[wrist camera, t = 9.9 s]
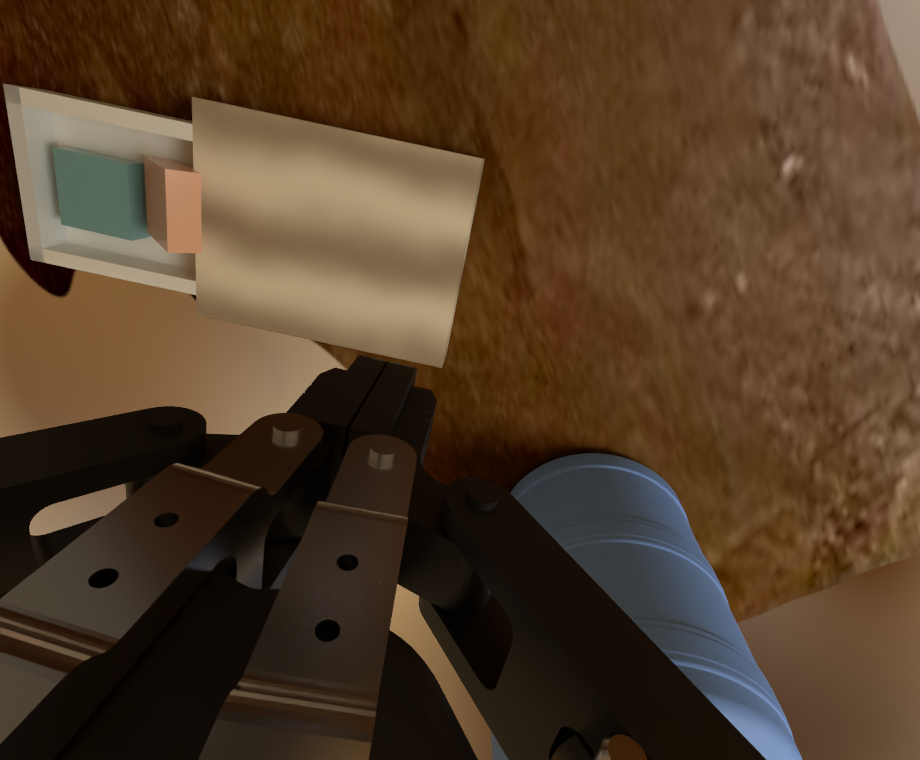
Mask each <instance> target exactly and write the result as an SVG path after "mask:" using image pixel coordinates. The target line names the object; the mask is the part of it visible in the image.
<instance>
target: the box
mask: <svg viewBox="0 0 920 760" xmlns="http://www.w3.org/2000/svg"><path fill="white" fill-rule="evenodd" d="M3 87H4V94H5V100H6V106H7V113H8V119H9V125H10V132H11V138H12V145H13V151H14V157H15V164H16V170H17V176H18V183H19V189H20V196H21V202H22V208H23V215H24V221H25V227H26V234H27V240H28V247H29V253H30V259H31V260H35V261H39V262H44V263H49V264H53V265H58V266H63V267H67V268H72V269H77V270H82V271H86V272H91V273H95V274H100V275H105V276H109V277H114V278H119V279H123V280H128V281H133V282H137V283H142V284H147V285H151V286H156V287H161V288H165V289H170V290H175V291H179V292H184V293H189V294H193V295H196V260H195V253H168V252H167V251H166V250H165V249H164V248H163V247H162V246H161V245H160V244H158V243H157V242H156V241H155V240H154V239H153V238H152V237H147V238H143V239H138V240H134V241H130V240H126V239H122V238H117V237H113V236H109V235H104V234H100V233H95V232H91V231H87V230H82V229H78V228H74V227H69V226H65V225H61V218H60V209H59V200H58V192H57V183H56V174H55V166H54V157H53V148H52V147H77V148H82V149H86V150H90V151H95V152H99V153H103V154H108V155H112V156H117V157H121V158H125V159H130V160H134V161H138V162H143V163H144V156H150V157H157V158H165V159H172V160H178V161H180V162H181V163H183V164H185V165H187V166H189V167H190V168H192V169H193V129H192V121H189V120H184V119H180V118H175V117H170V116H165V115H161V114H156V113H151V112H147V111H142V110H137V109H133V108H128V107H123V106H119V105H114V104H109V103H105V102H100V101H95V100H90V99H86V98H81V97H76V96H72V95H67V94H62V93H58V92H53V91H48V90H44V89H37V88H30V87H23V86H16V85H9V84H3Z"/></svg>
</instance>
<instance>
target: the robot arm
mask: <svg viewBox="0 0 920 760" xmlns="http://www.w3.org/2000/svg"><path fill="white" fill-rule="evenodd" d="M416 372H417V368H415V367H411V366H406V365H402V364H398V363H394V362H388V361H385V360H381V359H376V358H372V357H368V356H364V355H359V356H358V357H357V358H356V360H355V361H354V362H353V364H352V365H351V366H350V367H349V369H348V370H342V369H338V368H333V369H331V370H328V371H326V372H323V373H321V374H319V376H318V377H317V378H316V379H315V380H314V381H313V383H312V385H310V386H309V387H308V388H307V390H306V391H305V393H303V394H302V395H301V396H300V398H299V399H298V400H297V401H296V402H295V403H294V405H293V406H292V407H291V408H290V409H289V410H288V411H287V412H286V413H279V414H272V415H267V416H265V417H262V418H260V419H258V420H257V421H255V422H254V423H253V424H252V425H251V426H250V427H248V428H247V429H246V430H245V431H244V432H243V433H242V434H240V435H224V434H206V420H205V418H204V417H203V416H202V415H201V414H199V413H198V412H195V411H193V410H190V409H187V408H182V407H173V406H170V407H169V406H165V407H155V408H149V409H144V410H139V411H134V412H129V413H124V414H119V415H114V416H109V417H104V418H98V419H94V420H88V421H83V422H79V423H73V424H68V425H63V426H58V427H53V428H48V429H43V430H37V431H32V432H27V433H23V434H17V435H12V436H7V437H2V438H0V760H478V759H477V757H476V755H475V754H474V751H473V749H472V748H471V745H470V743H469V742H468V740H467V738H466V736H465V734H464V732H463V730H462V728H461V726H460V724H459V722H458V720H457V718H456V716H455V714H454V712H453V710H452V709H451V707H450V705H449V703H448V701H447V699H446V697H445V695H444V693H443V691H442V689H441V687H440V685H439V683H438V681H437V680H436V678H435V676H434V675H433V673H432V672H431V670H430V669H429V667H428V666H427V664H426V663H425V662H424V661H423V659H422V658H421V657H420V656H419V655H418V654H417V652H416V651H415V650H414V649H413V648H412V647H411V646H410V645H409V644H407V643H406V642H405V641H404V640H403V639H402V638H400V637H399V636H397V635H396V634H394V633H393V632H391V631H390V630H389V629H390V623H391V617H392V611H393V605H394V599H395V594H396V588H397V584H399V585H401V586H402V587H404V588H406V589H408V590H410V591H411V592H413V593H415V594H416V595H418V596H420V597H419V608H420V611H421V614H422V616H423V617H424V619H425V621H426V623H427V624H428V626H429V627H430V629H431V631H432V633H433V634H434V636H435V638H436V639H437V641H438V643H439V644H440V646H441V647H442V649H443V651H444V652H445V654H446V656H447V658H448V659H449V661H450V663H451V664H452V666H453V667H454V669H455V671H456V672H457V674H458V676H459V677H460V679H461V681H462V683H463V684H464V686H465V688H466V689H467V691H468V693H469V694H470V696H471V698H472V699H473V701H474V703H475V704H476V706H477V708H478V709H479V711H480V713H481V714H482V716H483V718H484V720H485V721H486V723H487V725H488V726H489V728H490V729H491V731H492V733H493V735H494V736H495V738H496V740H497V741H498V743H499V745H500V746H501V748H502V750H503V751H504V753H505V755H506V756H507V758H508V760H766V759H765V758H764V757H763V756H762V755H761V753H760V752H759V751H758V750H757V749H756V748H755V747H754V746H753V745H752V744H751V743H750V742H749V741H748V740H747V739H746V738H745V737H744V736H743V735H742V734H741V733H740V732H739V731H738V730H737V729H736V727H735V726H734V725H733V724H732V723H731V722H730V721H729V720H728V719H727V718H726V717H725V716H724V715H723V714H722V713H721V712H720V711H719V710H718V709H717V708H716V707H715V706H714V705H713V704H712V703H711V701H710V700H709V699H708V698H707V697H706V696H705V695H704V694H703V693H702V692H701V691H700V690H699V689H698V688H697V687H696V686H695V685H694V684H693V683H692V682H691V681H690V680H689V679H688V678H687V677H686V675H685V674H684V673H683V672H682V671H681V670H680V669H679V668H678V667H677V666H676V665H675V664H674V663H673V662H672V661H671V660H670V659H669V658H668V657H667V656H666V655H665V654H664V653H663V652H662V651H661V649H660V648H659V647H658V646H657V645H656V644H655V643H654V642H653V641H652V640H651V639H650V638H649V637H648V636H647V635H646V634H645V633H644V632H643V631H642V630H641V629H640V628H639V627H638V626H637V625H636V623H635V622H634V621H633V620H632V619H631V618H630V617H629V616H628V615H627V614H626V613H625V612H624V611H623V610H622V609H621V608H620V607H619V606H618V605H617V604H616V603H615V602H614V601H613V600H612V599H611V597H610V596H609V595H608V594H607V593H606V592H605V591H604V590H603V589H602V588H601V587H600V586H599V585H598V584H597V583H596V582H595V581H594V580H593V579H592V578H591V577H590V576H589V575H588V574H587V573H586V571H585V570H584V569H583V568H582V567H581V566H580V565H579V564H578V563H577V562H576V561H575V560H574V559H573V558H572V557H571V556H570V555H569V554H568V553H567V552H566V551H565V550H564V549H563V548H562V547H561V545H560V544H559V543H558V542H557V541H556V540H555V539H554V538H553V537H552V536H551V535H550V534H549V533H548V532H547V531H546V530H545V529H544V528H543V527H542V526H541V525H540V524H539V523H538V522H537V521H536V519H535V518H534V517H533V516H532V515H531V514H530V513H529V512H528V511H527V510H526V509H525V508H524V507H523V506H522V505H521V504H520V503H519V502H518V501H517V500H516V499H515V498H514V497H513V496H512V495H511V493H509V492H508V491H507V490H506V489H505V488H503V487H502V486H500V485H498V484H496V483H494V482H492V481H489V480H486V479H481V478H462V479H458V480H456V481H454V482H452V483H451V484H450V485H449V486H446V485H444V484H442V483H440V482H438V481H436V480H435V479H434V478H432V477H431V476H430V475H429V474H428V473H427V472H426V471H425V470H424V468H423V467H422V463H423V460H424V456H425V453H426V449H427V444H428V440H429V435H430V431H431V426H432V422H433V417H434V413H435V408H436V403H437V400H436V398H435V396H434V394H433V392H432V390H428V389H424V388H420V387H415V386H414V384H415V379H416ZM121 484H125V486H126V498H127V499H126V500H125V501H124V502H122V503H121V504H120V505H118V506H117V507H116V508H115V509H113V510H112V511H111V512H110V513H108V514H107V515H106V516H102V517H99V518H96V519H93V520H90V521H86V522H83V523H80V524H77V525H74V526H71V527H68V528H64V529H61V530H58V531H55V532H52V533H48V534H45V535H40V536H32V535H30V532H29V525H30V522H31V520H32V518H33V517H34V516H35V515H36V514H37V513H38V512H39V511H40V510H42V509H43V508H45V507H47V506H49V505H51V504H54V503H57V502H61V501H65V500H68V499H72V498H75V497H79V496H82V495H86V494H89V493H93V492H96V491H100V490H103V489H107V488H110V487H114V486H117V485H121Z"/></svg>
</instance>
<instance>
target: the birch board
mask: <svg viewBox="0 0 920 760" xmlns="http://www.w3.org/2000/svg"><path fill="white" fill-rule="evenodd" d="M192 129H193V169H194V170H196V171H198V172H199V173H201V234H202V253H195V260H196V304H197V315H198V316H203V317H208V318H212V319H217V320H221V321H226V322H231V323H235V324H240V325H245V326H249V327H254V328H259V329H264V330H268V331H273V332H277V333H282V334H287V335H291V336H296V337H301V338H305V339H310V340H315V341H319V342H324V343H328V344H333V345H338V346H342V347H347V348H352V349H356V350H361V351H366V352H370V353H375V354H380V355H384V356H389V357H394V358H398V359H403V360H408V361H412V362H417V363H422V364H426V365H431V366H436V367H440V368H442V366H443V363H444V360H445V357H446V354H447V349H448V344H449V338H450V333H451V328H452V323H453V318H454V313H455V308H456V303H457V298H458V293H459V287H460V282H461V277H462V272H463V267H464V262H465V257H466V252H467V247H468V242H469V237H470V231H471V226H472V221H473V216H474V211H475V206H476V201H477V196H478V191H479V186H480V180H481V175H482V170H483V165H484V160H485V159H484V158H480V157H475V156H470V155H466V154H461V153H456V152H451V151H447V150H442V149H437V148H433V147H428V146H423V145H419V144H414V143H409V142H404V141H400V140H395V139H390V138H386V137H381V136H376V135H372V134H367V133H362V132H358V131H353V130H348V129H343V128H339V127H334V126H329V125H325V124H320V123H315V122H311V121H306V120H301V119H297V118H292V117H287V116H282V115H278V114H273V113H268V112H264V111H259V110H254V109H250V108H245V107H240V106H236V105H231V104H226V103H221V102H217V101H211V100H206V99H201V98H195V97H192Z"/></svg>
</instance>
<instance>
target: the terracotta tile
mask: <svg viewBox="0 0 920 760" xmlns="http://www.w3.org/2000/svg"><path fill="white" fill-rule="evenodd" d="M144 172H145V193H146V213H147V233H148V234H149V235H150V236H151V237H152V238H153V239H154V240H155V241H156V242H157V243H158V244H160V245H161V246H162V247H163V248H164V249H165V250H166V251H167V252H168V253H202V234H201V173H199V172H198V171H196V170H194V169H192V168H190V167H189V166H187V165H185V164H183V163H181V162H180V161H178V160H172V159H165V158H157V157H150V156H144Z"/></svg>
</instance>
